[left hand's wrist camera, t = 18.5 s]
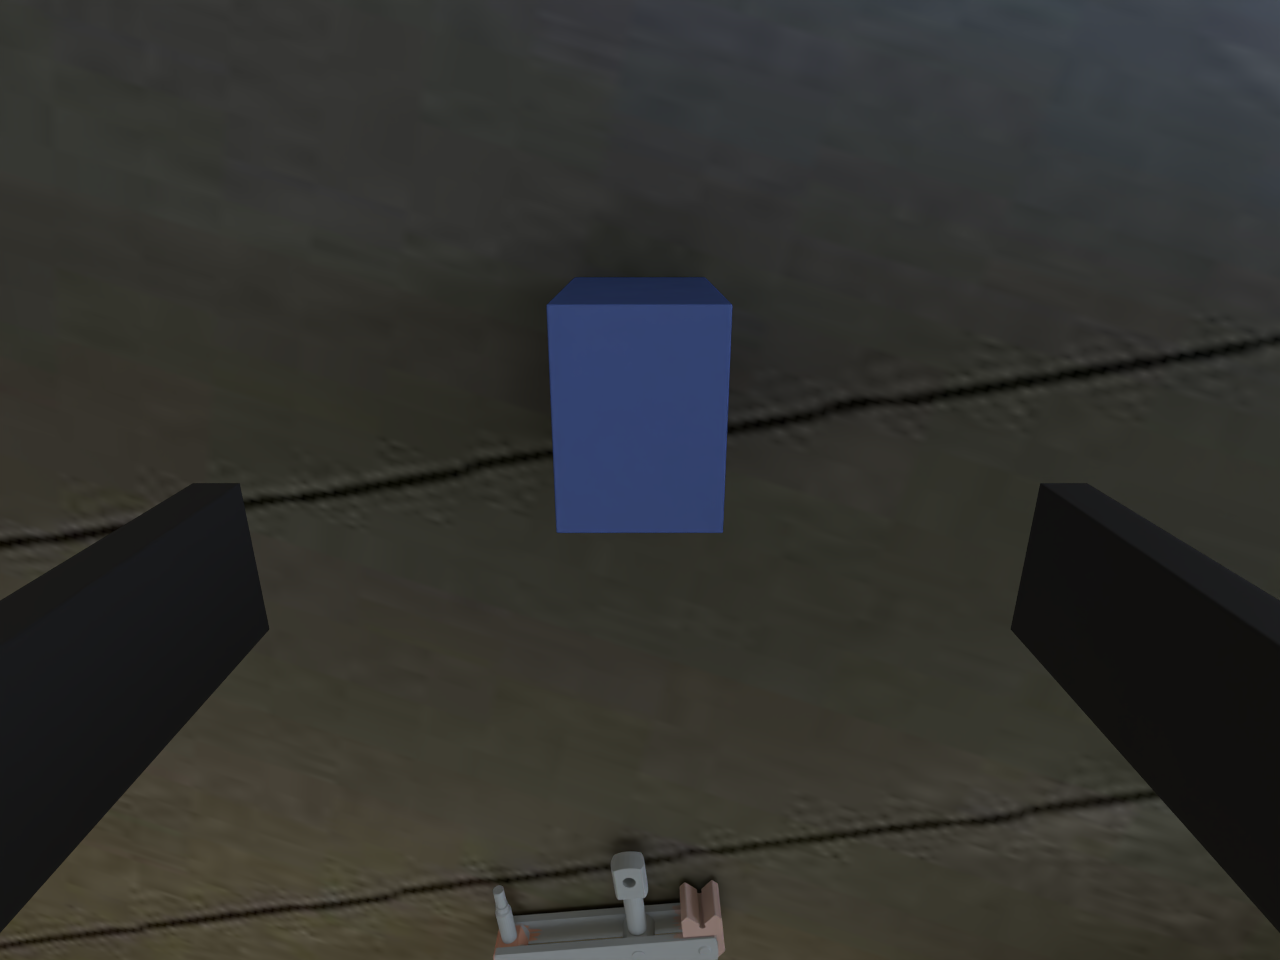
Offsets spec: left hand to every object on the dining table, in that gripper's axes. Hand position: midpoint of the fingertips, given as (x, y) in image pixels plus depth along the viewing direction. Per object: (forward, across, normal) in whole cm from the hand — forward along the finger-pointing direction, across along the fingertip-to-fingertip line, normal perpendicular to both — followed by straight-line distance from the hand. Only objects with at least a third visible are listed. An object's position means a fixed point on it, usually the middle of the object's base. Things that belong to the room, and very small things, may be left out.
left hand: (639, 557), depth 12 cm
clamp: (+17, +3, +29) cm, 34 cm away
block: (+17, 0, 0) cm, 17 cm away
